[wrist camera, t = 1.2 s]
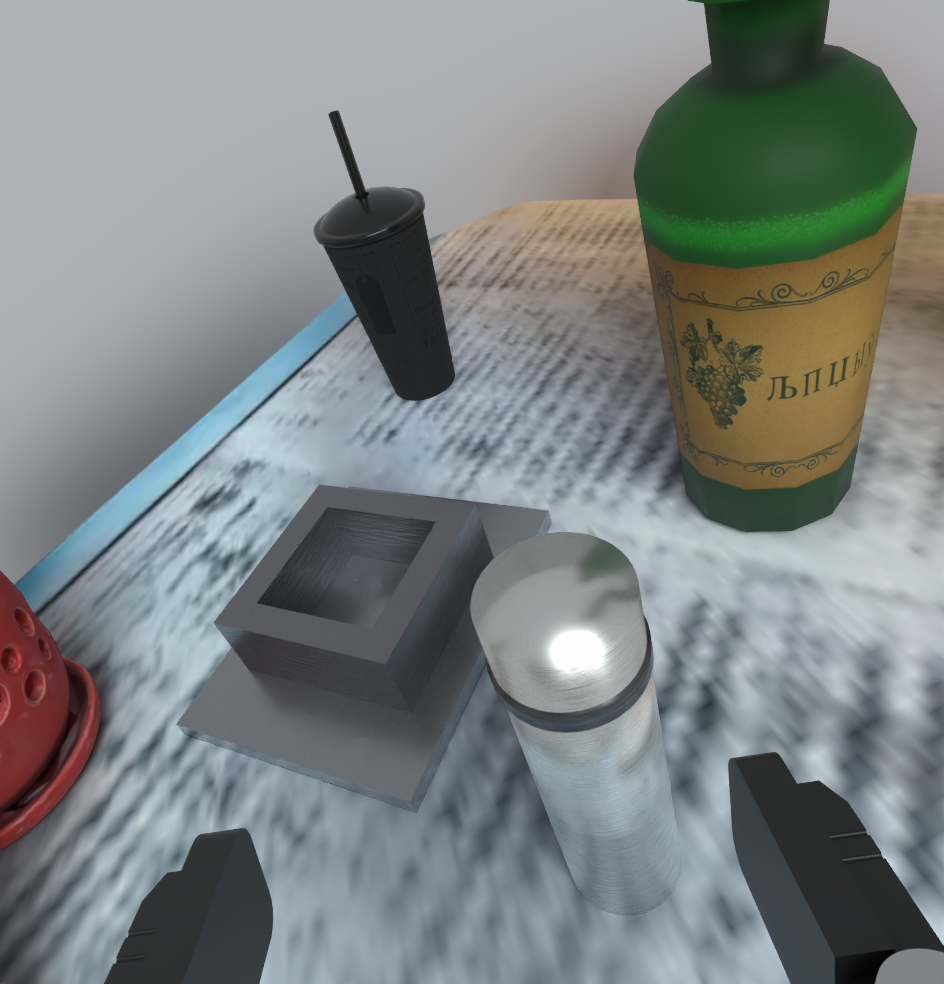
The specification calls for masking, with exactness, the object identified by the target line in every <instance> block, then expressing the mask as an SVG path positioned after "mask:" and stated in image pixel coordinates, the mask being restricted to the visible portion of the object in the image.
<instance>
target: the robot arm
mask: <svg viewBox="0 0 944 984" xmlns="http://www.w3.org/2000/svg"><path fill="white" fill-rule="evenodd" d="M728 770H729V786H730V801H731V817H732V831H733V839H734V844H735V849H736V853H737V857H738V860H739V863H740V867H741V869H742V872H743V875H744V877H745V879H746V882H747V884H748V886H749V889H750V891H751V893H752V895H753V898H754V900H755V902H756V905H757V907H758V909H759V912H760V914H761V916H762V919H763V921H764V923H765V925H766V928H767V930H768V932H769V935H770V937H771V939H772V942H773V944H774V946H775V949H776V951H777V953H778V955H779V958H780V960H781V962H782V965H783V967H784V969H785V972H786V974H787V976H788V978H789V981H790V983H791V984H944V946H943V944H942V943H941V941H940V940H939V938H938V937H937V935H936V934H935V932H934V931H933V929H932V928H931V926H930V925H929V923H928V922H927V920H926V919H925V917H924V916H923V914H922V913H921V911H920V910H919V908H918V907H917V905H916V904H915V902H914V901H913V899H912V898H911V896H910V895H909V893H908V892H907V890H906V889H905V887H904V886H903V884H902V883H901V881H900V880H899V878H898V877H897V875H896V874H895V872H894V871H893V869H892V868H891V866H890V865H889V863H888V862H887V860H886V859H885V858H884V859H883V857H882V854H881V851H880V850H879V848H878V847H877V845H876V844H875V842H874V841H873V839H872V838H871V836H870V835H867V832H866V829H865V827H864V826H863V824H862V823H861V821H860V820H859V818H858V817H857V815H856V814H855V812H854V811H853V809H852V808H851V806H850V805H849V803H848V802H847V801H845V800H844V799H843V798H841V797H840V796H839V795H837V794H836V793H835V792H833V791H832V790H831V789H829V788H828V787H827V786H825V785H824V784H823V783H821V782H820V781H813V782H806V783H799V784H797V783H796V781H795V780H794V778H793V776H792V775H791V773H790V771H789V770H788V768H787V766H786V765H785V763H784V761H783V760H782V758H781V757H780V755H779V754H778V753H776V752H772V753H765V754H758V755H751V756H745V757H738V758H731V759H730V760H729V764H728ZM272 928H273V908H272V901H271V896H270V893H269V890H268V887H267V884H266V881H265V878H264V875H263V872H262V869H261V866H260V863H259V860H258V857H257V854H256V851H255V848H254V845H253V842H252V839H251V836H250V834H249V832H248V831H247V830H246V829H245V828H240V829H233V830H227V831H220V832H213V833H206V834H201V835H199V836H197V837H196V839H195V840H194V842H193V844H192V847H191V849H190V851H189V854H188V856H187V858H186V861H185V863H184V865H183V868H182V870H181V871H177V872H170V873H167V874H166V875H165V876H164V877H163V878H162V879H161V880H160V882H159V883H158V884H157V885H156V886H155V887H154V888H153V890H152V891H151V892H150V893H149V894H148V895H147V897H146V898H145V899H144V900H143V901H142V903H141V905H140V908H139V910H138V912H137V914H136V916H135V918H134V920H133V923H132V925H131V927H130V929H129V931H128V933H129V935H128V938H125V940H124V942H123V944H122V946H121V949H120V951H119V953H118V955H117V957H116V958H117V962H116V964H113V966H112V968H111V970H110V972H109V974H108V977H107V979H106V981H105V983H104V984H259V982H260V979H261V975H262V971H263V967H264V963H265V959H266V956H267V952H268V948H269V944H270V940H271V935H272Z"/></svg>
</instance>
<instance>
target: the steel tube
mask: <svg viewBox="0 0 944 984" xmlns="http://www.w3.org/2000/svg"><path fill="white" fill-rule="evenodd" d="M470 609H471V617H472V622H473V624H474V627H475V629H476V632H477V635H478V637H479V640H480V642H481V645H482V647H483V650H484V653H485V661H486V666H487V670H488V673H489V675H490V678H491V680H492V683H493V685H494V688H495V690H496V693H497V695H498V697H499V699H500V700H501V702H502V703H503V705H504V706H505V707H506V709H507V712H508V714H509V717H510V719H511V722H512V724H513V727H514V730H515V732H516V735H517V737H518V740H519V742H520V745H521V748H522V750H523V753H524V755H525V758H526V760H527V763H528V766H529V768H530V771H531V773H532V776H533V778H534V781H535V784H536V786H537V789H538V791H539V794H540V796H541V799H542V802H543V804H544V807H545V809H546V812H547V814H548V817H549V820H550V822H551V825H552V827H553V830H554V832H555V835H556V838H557V840H558V843H559V845H560V848H561V850H562V853H563V856H564V858H565V861H566V863H567V866H568V868H569V871H570V873H571V876H572V878H573V881H574V883H575V885H576V886H577V888H578V889H579V891H580V892H581V894H582V895H583V896H584V897H585V898H586V899H587V900H588V901H589V902H591V903H592V904H593V905H595V906H596V907H598V908H600V909H602V910H604V911H606V912H609V913H613V914H617V915H637V914H641V913H645V912H647V911H650V910H652V909H654V908H655V907H657V906H658V905H660V904H661V903H662V902H663V901H665V900H666V898H667V897H668V896H669V895H670V894H671V892H672V891H673V889H674V888H675V885H676V883H677V881H678V878H679V875H680V870H681V851H680V844H679V838H678V832H677V825H676V819H675V812H674V806H673V800H672V793H671V787H670V781H669V774H668V768H667V761H666V755H665V749H664V742H663V736H662V730H661V723H660V717H659V710H658V704H657V698H656V691H655V685H654V678H653V672H652V669H653V648H652V642H651V635H650V630H649V626H648V622H647V620H646V618H645V616H644V614H643V608H642V602H641V595H640V589H639V583H638V578H637V575H636V572H635V570H634V568H633V566H632V564H631V563H630V561H629V560H628V558H627V557H626V556H625V555H624V554H623V553H622V552H621V551H620V550H619V549H617V548H616V547H615V546H613V545H612V544H610V543H608V542H606V541H604V540H602V539H600V538H597V537H594V536H590V535H586V534H581V533H572V532H558V533H549V534H544V535H539V536H535V537H532V538H529V539H526V540H524V541H521V542H519V543H517V544H515V545H513V546H511V547H509V548H508V549H506V550H505V551H503V552H502V553H501V554H499V555H498V556H497V557H496V558H494V559H493V560H492V561H491V562H490V563H489V564H488V565H487V567H486V568H485V569H484V570H483V572H482V573H481V575H480V576H479V578H478V580H477V582H476V584H475V586H474V589H473V592H472V596H471V604H470Z"/></svg>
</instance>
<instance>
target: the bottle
mask: <svg viewBox="0 0 944 984" xmlns="http://www.w3.org/2000/svg"><path fill="white" fill-rule="evenodd" d="M688 1H695V2H700V3H704V6H705V15H706V23H707V31H708V39H709V47H710V56H711V64H710V65H708V66H707V67H705V68H704V69H703V70H701V71H700V72H698V73H697V74H696V75H694V76H693V77H691V78H690V79H689V80H688V81H687V82H686V83H685V84H684V85H683V86H682V87H681V88H680V89H679V90H678V91H677V92H675V94H673V95H672V96H671V97H670V98H669V99H668V100H667V101H666V102H665V103H664V104H663V105H662V106H661V107H660V108H659V109H658V110H657V111H656V112H655V115H654V117H653V118H652V121H651V123H650V125H649V127H648V129H647V131H646V133H645V135H644V138H643V140H642V141H641V144H640V146H639V148H638V150H637V155H636V162H635V170H634V181H635V187H636V193H637V199H638V205H639V211H640V217H641V223H642V229H643V235H644V241H645V247H646V253H647V259H648V265H649V271H650V277H651V283H652V289H653V295H654V301H655V307H656V313H657V319H658V325H659V331H660V337H661V343H662V349H663V355H664V361H665V367H666V373H667V379H668V385H669V391H670V397H671V403H672V409H673V415H674V421H675V427H676V433H677V439H678V445H679V451H680V457H681V463H682V469H683V475H684V481H685V487H686V493H687V495H688V496H689V497H690V498H691V499H692V501H693V502H694V503H695V504H696V505H697V506H698V507H699V508H700V509H701V511H702V512H703V513H704V514H705V515H706V516H707V517H708V518H710V519H713V520H716V521H718V522H721V523H724V524H727V525H729V526H732V527H735V528H738V529H741V530H743V531H746V532H758V531H793V530H796V529H798V528H800V527H803V526H805V525H807V524H810V523H812V522H814V521H817V520H819V519H821V518H824V517H826V516H828V515H831V514H832V513H833V511H834V510H835V508H836V507H837V506H838V504H839V503H840V501H841V500H842V498H843V497H844V496H845V494H846V493H847V491H848V490H849V488H850V485H851V480H852V474H853V469H854V464H855V458H856V453H857V448H858V442H859V437H860V432H861V426H862V421H863V415H864V410H865V405H866V399H867V394H868V389H869V383H870V378H871V373H872V367H873V362H874V357H875V351H876V346H877V341H878V335H879V330H880V325H881V319H882V314H883V309H884V303H885V298H886V293H887V287H888V282H889V277H890V271H891V266H892V261H893V255H894V250H895V245H896V239H897V234H898V229H899V223H900V218H901V213H902V207H903V202H904V197H905V191H906V186H907V181H908V175H909V170H910V164H911V159H912V154H913V149H914V143H915V138H916V133H917V128H916V126H915V124H914V123H913V121H912V119H911V117H910V115H909V114H908V112H907V110H906V109H905V107H904V105H903V104H902V102H901V100H900V99H899V97H898V95H897V94H896V92H895V90H894V89H893V87H892V86H891V84H890V82H889V81H888V79H887V78H886V76H885V74H884V72H883V71H882V69H881V68H880V67H878V66H876V65H874V64H872V63H871V62H869V61H867V60H865V59H863V58H861V57H859V56H857V55H856V54H853V53H852V52H850V51H848V50H846V49H844V48H842V47H838V46H833V45H827V44H824V39H825V31H826V23H827V16H828V9H829V1H830V0H688Z"/></svg>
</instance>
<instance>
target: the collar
mask: <svg viewBox="0 0 944 984" xmlns="http://www.w3.org/2000/svg"><path fill="white" fill-rule="evenodd" d="M550 525H551V520H550V516H549V512H548V511H546V510H538V509H530V508H522V507H513V506H505V505H497V504H488V503H480V502H472V501H464V500H455V499H447V498H439V497H431V496H422V495H414V494H406V493H398V492H389V491H381V490H373V489H364V488H356V487H349V488H342V487H333V486H325V485H319V486H318V487H317V488H316V490H315V491H314V492H313V494H312V495H311V496H310V498H309V499H308V500H307V502H306V503H305V504H304V505H303V507H302V508H301V509H300V511H299V512H298V513H297V515H296V516H295V517H294V519H293V520H292V521H291V522H290V524H289V525H288V526H287V528H286V529H285V530H284V532H283V533H282V534H281V535H280V537H279V538H278V539H277V541H276V542H275V543H274V545H273V546H272V547H271V549H270V550H269V551H268V552H267V554H266V555H265V556H264V558H263V559H262V560H261V562H260V563H259V564H258V566H257V567H256V568H255V569H254V571H253V572H252V573H251V575H250V576H249V577H248V579H247V580H246V581H245V582H244V584H243V585H242V586H241V588H240V589H239V590H238V592H237V593H236V594H235V596H234V597H233V598H232V599H231V601H230V602H229V603H228V605H227V606H226V607H225V609H224V610H223V611H222V613H221V614H220V615H219V616H218V618H217V619H216V620H215V622H214V624H215V625H216V626H217V628H218V629H219V630H220V632H221V633H222V634H223V636H224V637H225V639H226V640H227V641H228V643H229V644H230V645H231V647H232V648H231V650H230V651H229V653H228V654H227V655H226V657H225V658H224V659H223V661H222V662H221V664H220V665H219V666H218V668H217V669H216V670H215V672H214V673H213V675H212V676H211V677H210V679H209V680H208V681H207V683H206V684H205V686H204V687H203V688H202V690H201V691H200V692H199V694H198V695H197V697H196V698H195V699H194V701H193V702H192V703H191V705H190V706H189V708H188V709H187V710H186V712H185V713H184V714H183V716H182V717H181V719H180V720H179V721H178V723H177V724H176V725H177V726H178V727H179V728H180V729H181V730H182V731H183V732H184V733H185V734H186V735H188V736H191V737H194V738H197V739H200V740H203V741H206V742H209V743H212V744H215V745H218V746H221V747H224V748H227V749H230V750H233V751H236V752H239V753H242V754H245V755H248V756H251V757H253V758H256V759H259V760H262V761H265V762H268V763H271V764H274V765H277V766H280V767H283V768H286V769H289V770H292V771H295V772H298V773H301V774H304V775H307V776H310V777H313V778H316V779H319V780H322V781H324V782H327V783H330V784H333V785H336V786H339V787H342V788H345V789H348V790H351V791H354V792H357V793H360V794H363V795H366V796H369V797H372V798H375V799H378V800H381V801H384V802H387V803H390V804H393V805H395V806H398V807H401V808H404V809H407V810H410V811H413V812H417V810H418V808H419V806H420V804H421V801H422V799H423V797H424V795H425V793H426V791H427V789H428V786H429V784H430V782H431V780H432V778H433V776H434V774H435V771H436V769H437V767H438V765H439V763H440V761H441V759H442V756H443V754H444V752H445V750H446V748H447V746H448V744H449V741H450V739H451V737H452V735H453V733H454V731H455V728H456V726H457V724H458V722H459V720H460V718H461V716H462V713H463V711H464V709H465V707H466V705H467V703H468V701H469V698H470V696H471V694H472V692H473V690H474V688H475V686H476V683H477V681H478V679H479V677H480V675H481V673H482V671H483V668H484V666H485V664H486V661H485V653H484V650H483V647H482V645H481V642H480V640H479V637H478V635H477V632H476V629H475V627H474V624H473V622H472V617H471V609H470V604H471V596H472V592H473V589H474V586H475V584H476V582H477V580H478V578H479V576H480V575H481V573H482V572H483V570H484V569H485V568H486V567H487V565H488V564H489V563H490V562H491V561H492V560H493V559H494V558H496V557H497V556H498V555H499V554H501V553H502V552H503V551H505V550H506V549H508V548H509V547H511V546H513V545H515V544H517V543H519V542H521V541H524V540H526V539H529V538H532V537H535V536H539V535H544V534H546V533H547V531H548V529H549V527H550Z"/></svg>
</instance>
